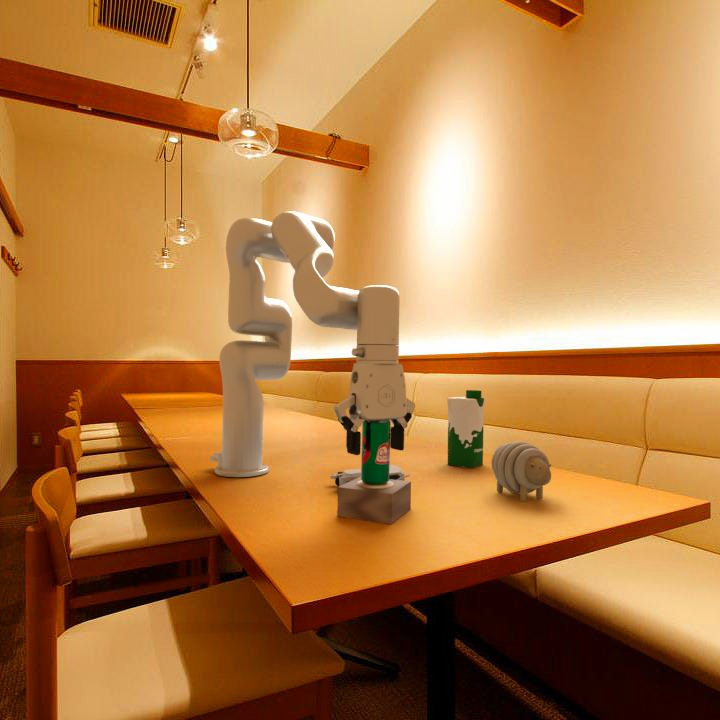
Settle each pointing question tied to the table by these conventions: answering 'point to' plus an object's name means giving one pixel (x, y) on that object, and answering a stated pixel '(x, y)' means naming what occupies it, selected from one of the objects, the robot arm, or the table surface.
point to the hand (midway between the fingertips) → (375, 451)
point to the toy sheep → (521, 469)
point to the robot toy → (352, 474)
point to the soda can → (375, 452)
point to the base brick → (374, 500)
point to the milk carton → (466, 429)
